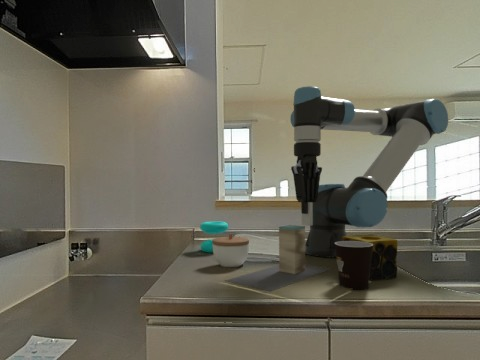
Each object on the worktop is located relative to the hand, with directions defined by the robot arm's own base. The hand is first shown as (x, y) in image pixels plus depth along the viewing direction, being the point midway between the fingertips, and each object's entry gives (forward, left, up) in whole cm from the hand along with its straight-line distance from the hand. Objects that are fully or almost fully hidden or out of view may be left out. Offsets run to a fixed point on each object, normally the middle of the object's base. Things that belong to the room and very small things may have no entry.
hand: (307, 225), depth 111 cm
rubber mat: (+13, 0, -12) cm, 18 cm away
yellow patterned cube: (-2, +17, -12) cm, 21 cm away
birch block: (+8, 0, -12) cm, 14 cm away
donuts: (-1, -39, -12) cm, 41 cm away
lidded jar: (+13, -18, -12) cm, 25 cm away
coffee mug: (+9, +18, -12) cm, 24 cm away
